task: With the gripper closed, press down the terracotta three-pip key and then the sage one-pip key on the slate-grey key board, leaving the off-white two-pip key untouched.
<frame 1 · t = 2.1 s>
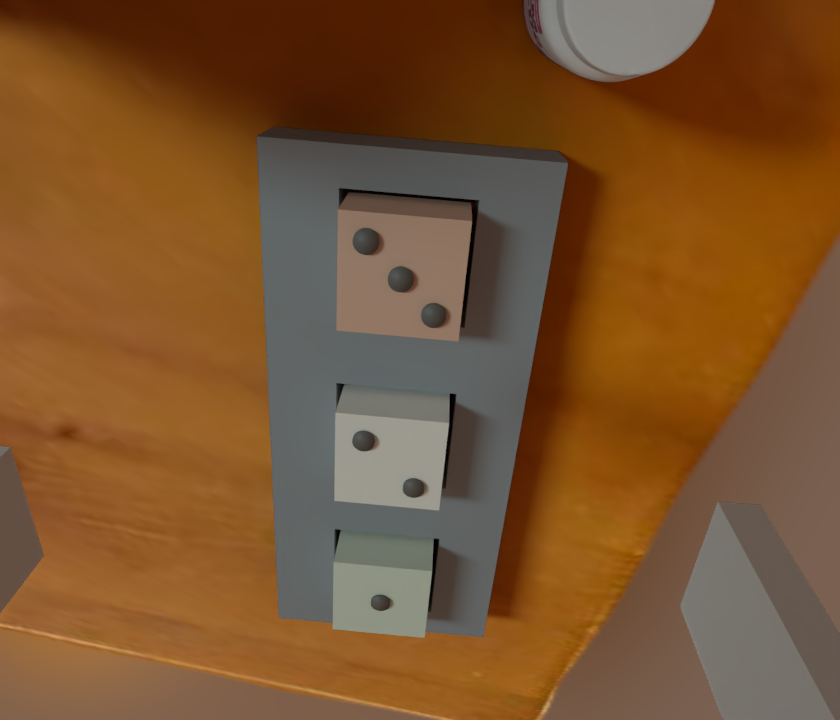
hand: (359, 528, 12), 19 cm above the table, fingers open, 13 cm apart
key three: (403, 267, 26), point 3 cm above the table, slide at 0.0 cm
pill bottle: (584, 0, 24), on the table
key one: (383, 582, 34), point 3 cm above the table, slide at 0.0 cm
key two: (391, 447, 30), point 3 cm above the table, slide at 0.0 cm
key board: (397, 410, 33), on the table
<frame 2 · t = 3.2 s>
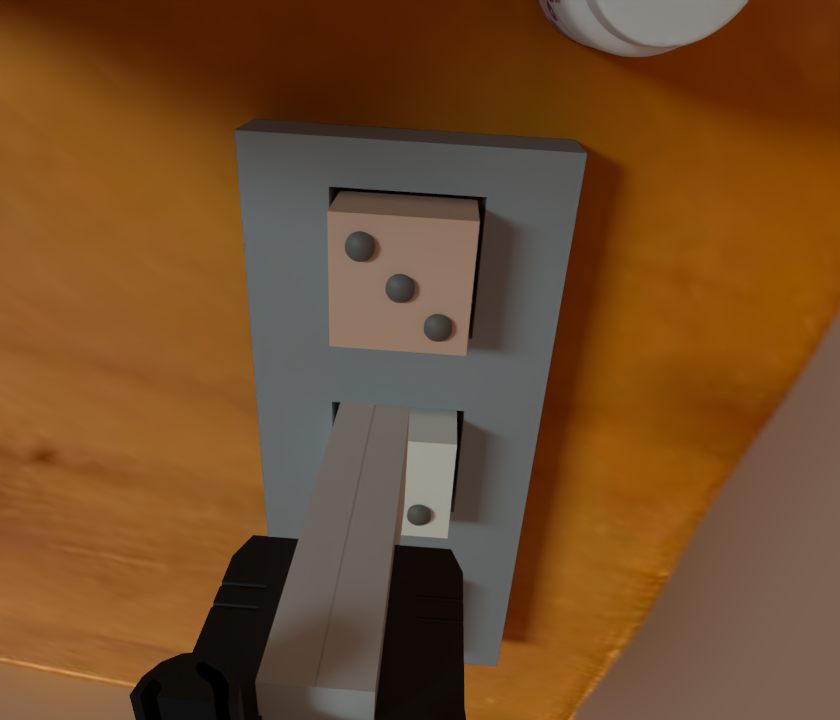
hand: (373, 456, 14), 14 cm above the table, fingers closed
key three: (402, 274, 23), point 3 cm above the table, slide at 0.0 cm
key two: (394, 470, 27), point 3 cm above the table, slide at 0.0 cm
key board: (400, 427, 30), on the table
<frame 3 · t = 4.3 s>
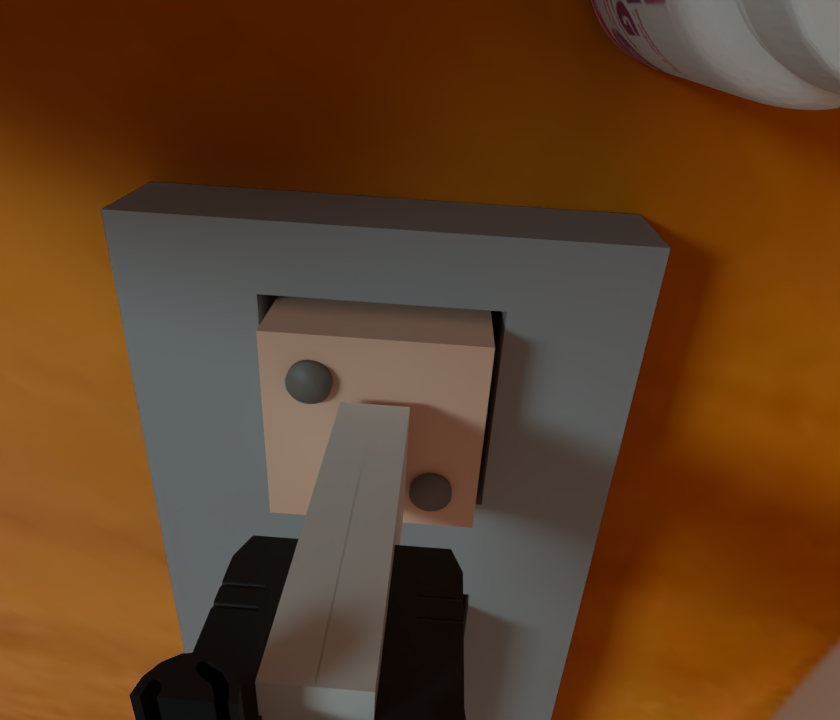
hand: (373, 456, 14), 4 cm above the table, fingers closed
key three: (378, 407, 16), point 2 cm above the table, slide at 0.8 cm, touching gripper
key board: (380, 586, 22), on the table
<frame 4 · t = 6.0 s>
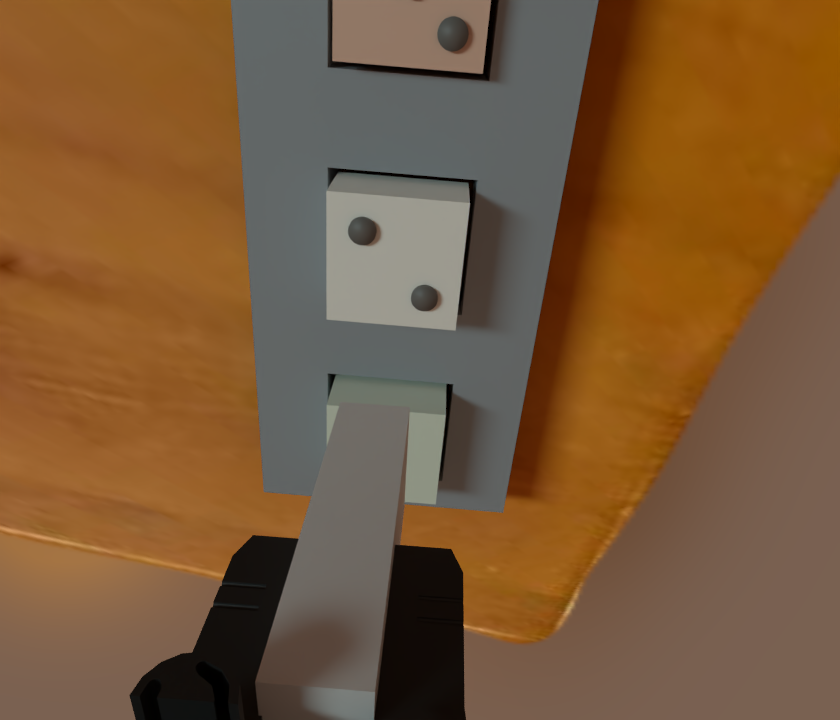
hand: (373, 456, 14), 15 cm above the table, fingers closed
key one: (386, 439, 29), point 3 cm above the table, slide at 0.0 cm
key two: (396, 252, 24), point 3 cm above the table, slide at 0.0 cm
key board: (402, 225, 27), on the table
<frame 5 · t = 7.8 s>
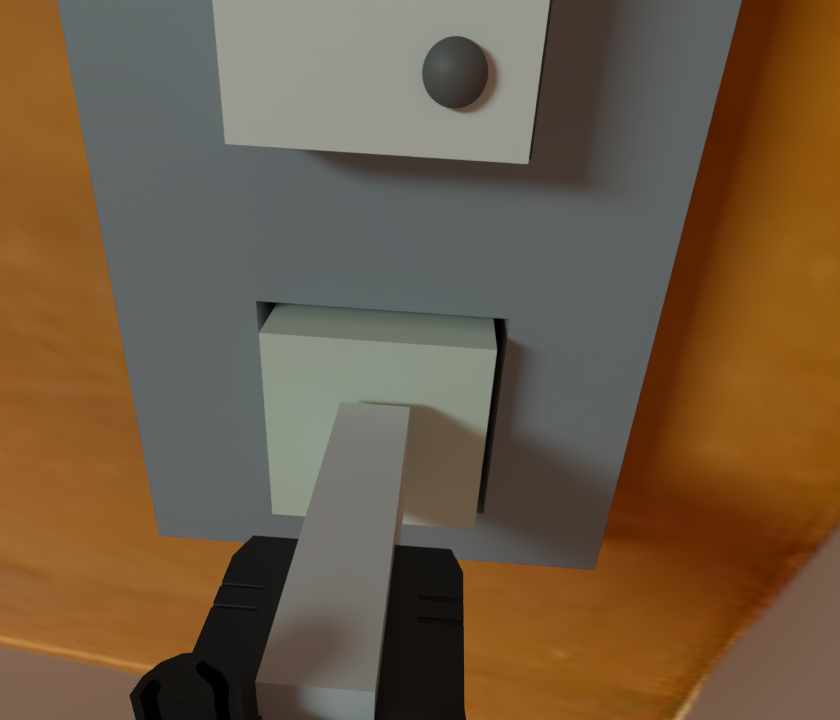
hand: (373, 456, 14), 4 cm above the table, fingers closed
key one: (380, 409, 16), point 2 cm above the table, slide at 1.1 cm, touching gripper
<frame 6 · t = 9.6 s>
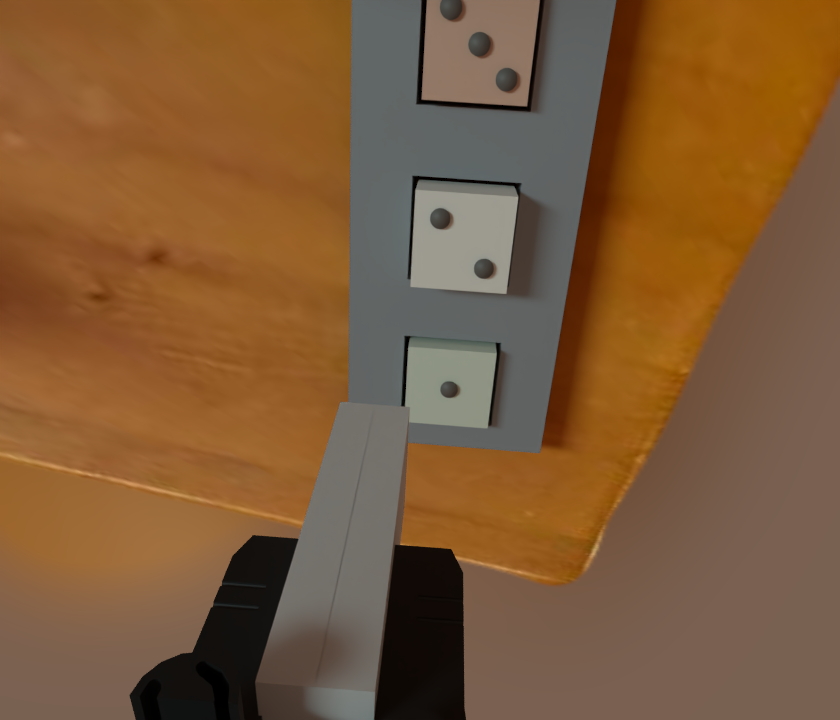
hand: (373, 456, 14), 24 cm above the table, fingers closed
key three: (478, 44, 30), point 2 cm above the table, slide at 1.2 cm
key one: (449, 378, 38), point 2 cm above the table, slide at 1.2 cm
key two: (462, 236, 33), point 3 cm above the table, slide at 0.0 cm
key board: (462, 221, 36), on the table
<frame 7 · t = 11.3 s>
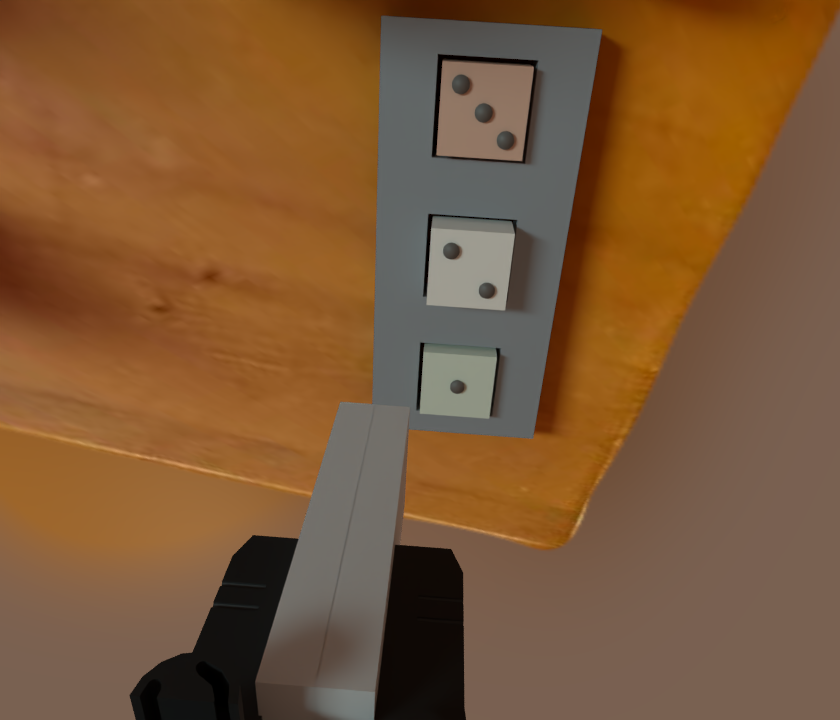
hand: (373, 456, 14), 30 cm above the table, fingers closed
key three: (482, 109, 37), point 2 cm above the table, slide at 1.2 cm
key one: (457, 377, 46), point 2 cm above the table, slide at 1.2 cm
key two: (468, 263, 40), point 3 cm above the table, slide at 0.0 cm
key board: (468, 247, 43), on the table
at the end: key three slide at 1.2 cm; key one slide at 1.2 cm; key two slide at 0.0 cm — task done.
